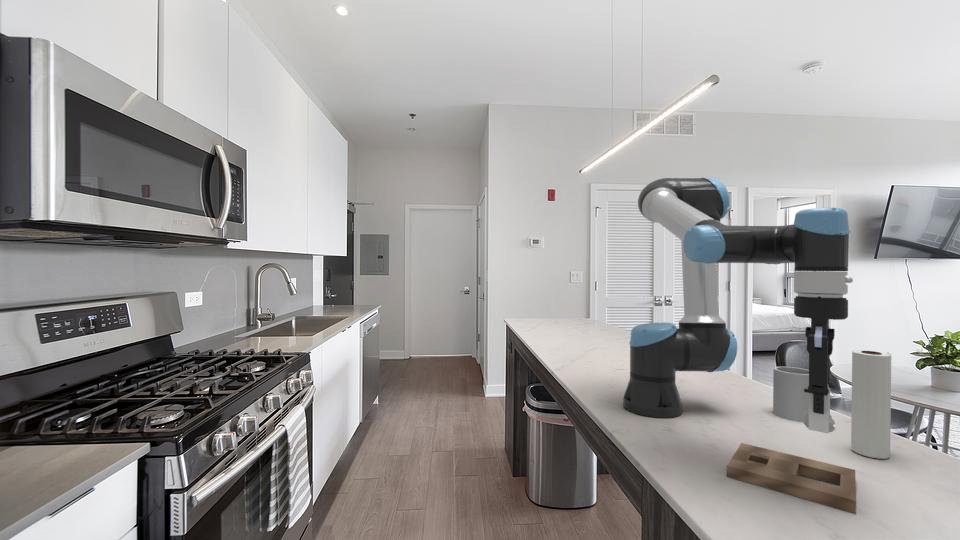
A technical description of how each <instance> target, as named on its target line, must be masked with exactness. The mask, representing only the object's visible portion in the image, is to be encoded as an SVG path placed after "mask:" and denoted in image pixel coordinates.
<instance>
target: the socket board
mask: <svg viewBox="0 0 960 540" xmlns="http://www.w3.org/2000/svg"><path fill="white" fill-rule="evenodd" d="M726 477H728V478H732V479H734V480H738V481H742V482H745V483H749V484H753V485H756V486H759V487H762V488H766V489H769V490H772V491H776V492H779V493H784V494H787V495H790V496H793V497H797V498H801V499H804V500H808V501H811V502H815V503H818V504H822V505H825V506H829V507H833V508H835V509H839V510H842V511H846V512H849V513H853V514H857V494H856V493H857V490H856V489H857V487H856V486H857V484H856V482H857V481H856V480H857V479H856V469H853V468H850V467H844V466H842V465H836V464H832V463H827V462H823V461H820V460H815V459H811V458H806V457H802V456H798V455H794V454H790V453H785V452H782V451H777V450H772V449H769V448H764V447H761V446H755V445H751V444H748V443H743V442H741V443H740V444H739V446H738V448H737V450H736V451H735V452H734V454H733V455H732V457H731V459H730V460H729V462H728V463H727V465H726ZM818 480H819V481H818ZM822 481H823V482H822ZM825 482H826V483H825ZM834 484H835V485H834Z"/></svg>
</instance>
